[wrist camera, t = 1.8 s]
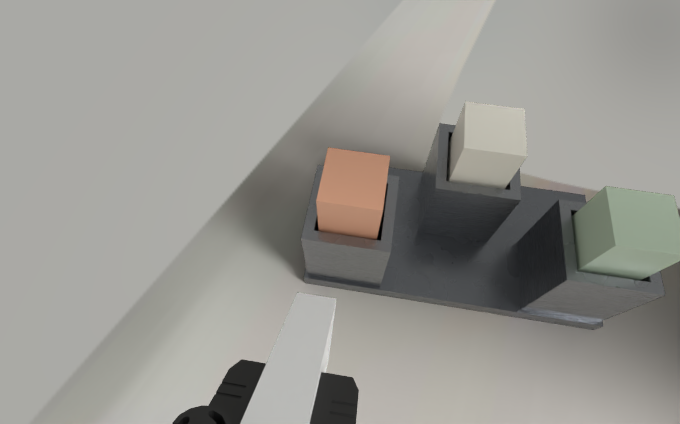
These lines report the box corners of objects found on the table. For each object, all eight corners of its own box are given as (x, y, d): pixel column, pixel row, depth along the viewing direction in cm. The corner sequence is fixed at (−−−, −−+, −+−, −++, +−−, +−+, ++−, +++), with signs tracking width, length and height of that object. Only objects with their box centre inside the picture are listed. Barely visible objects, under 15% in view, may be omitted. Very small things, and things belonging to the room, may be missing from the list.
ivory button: (487, 172, 38) (524, 109, 30) (487, 213, 36) (527, 156, 28) (440, 165, 38) (465, 101, 31) (437, 205, 36) (464, 147, 29)
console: (577, 202, 42) (636, 146, 34) (593, 329, 36) (670, 300, 28) (329, 167, 44) (328, 105, 36) (304, 282, 38) (296, 241, 30)
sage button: (600, 246, 35) (673, 195, 27) (607, 296, 33) (689, 256, 25) (547, 238, 35) (605, 186, 27) (551, 287, 33) (615, 245, 25)
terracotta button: (378, 212, 36) (390, 155, 28) (372, 258, 34) (382, 210, 26) (329, 205, 36) (328, 147, 29) (320, 250, 34) (316, 200, 27)
